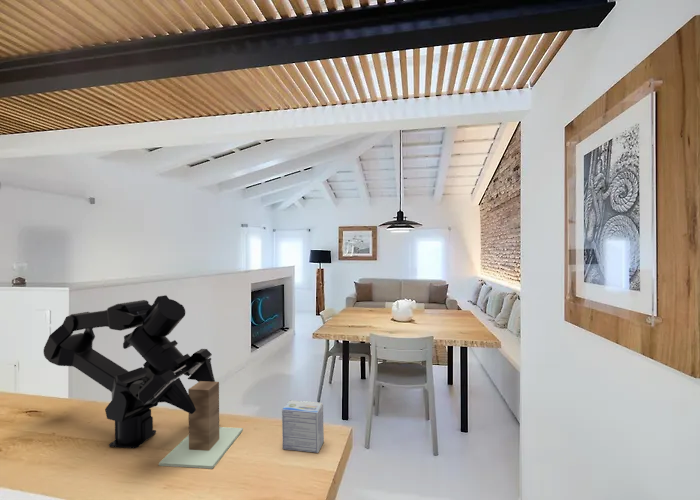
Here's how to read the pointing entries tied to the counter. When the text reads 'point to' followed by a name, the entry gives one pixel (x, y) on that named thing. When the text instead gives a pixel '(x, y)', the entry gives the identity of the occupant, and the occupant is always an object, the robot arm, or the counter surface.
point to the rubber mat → (201, 451)
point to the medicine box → (302, 426)
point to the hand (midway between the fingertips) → (205, 402)
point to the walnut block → (204, 415)
